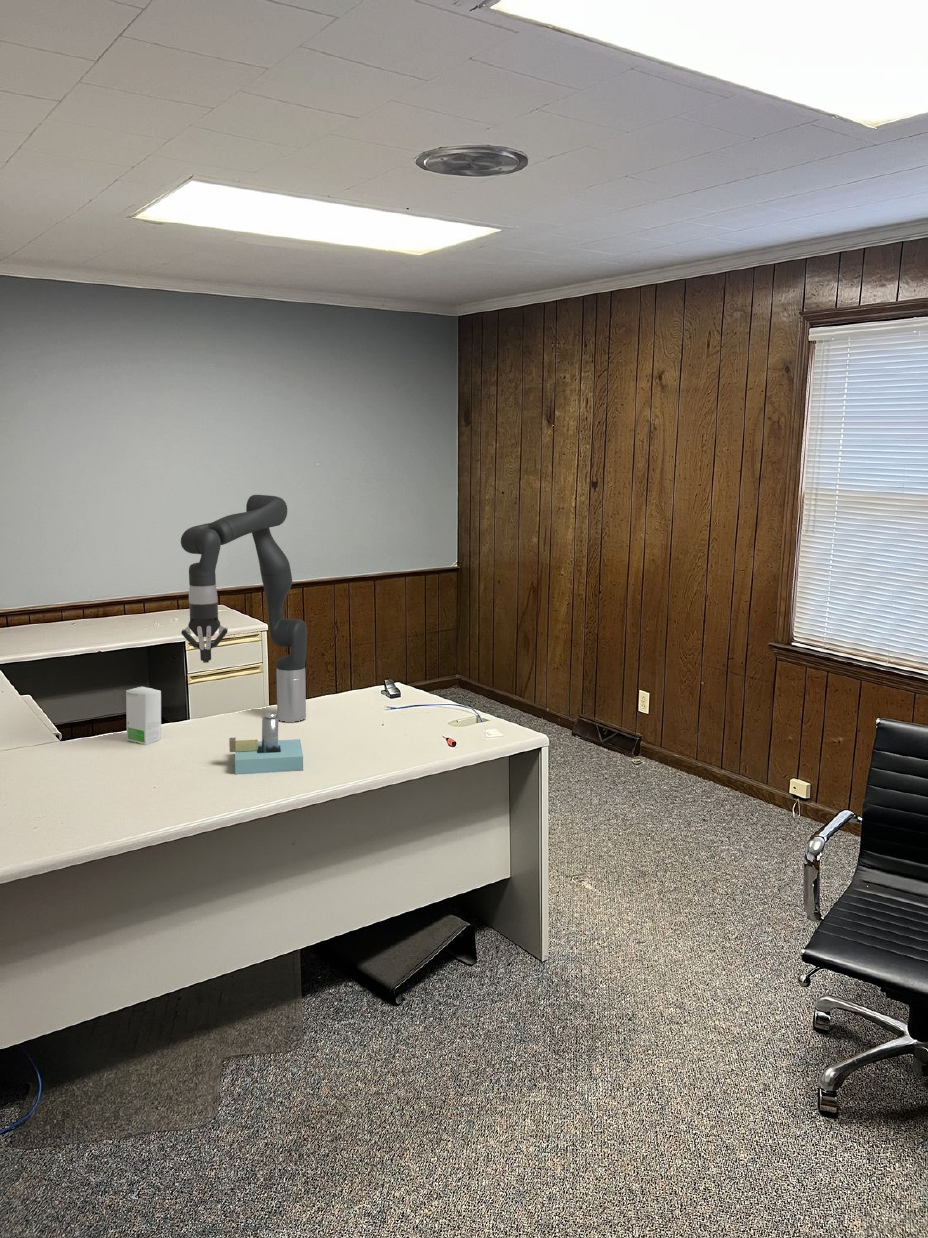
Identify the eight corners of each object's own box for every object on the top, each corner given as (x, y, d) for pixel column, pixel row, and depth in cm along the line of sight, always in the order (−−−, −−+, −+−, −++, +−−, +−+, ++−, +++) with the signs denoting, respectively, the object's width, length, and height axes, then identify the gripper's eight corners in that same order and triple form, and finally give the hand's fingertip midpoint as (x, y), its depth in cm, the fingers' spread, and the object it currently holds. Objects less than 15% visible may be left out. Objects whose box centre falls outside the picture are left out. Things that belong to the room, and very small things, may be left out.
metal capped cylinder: (262, 756, 255) (263, 711, 253) (278, 756, 255) (279, 711, 253) (260, 761, 251) (261, 715, 248) (276, 762, 251) (277, 716, 249)
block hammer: (229, 748, 252) (229, 737, 251) (257, 747, 253) (257, 736, 253) (229, 752, 249) (229, 741, 248) (257, 750, 250) (257, 739, 250)
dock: (236, 755, 259) (236, 742, 258) (300, 752, 263) (300, 739, 262) (235, 774, 243) (235, 760, 243) (303, 770, 248) (303, 756, 247)
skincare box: (126, 741, 271) (123, 690, 268) (143, 735, 277) (141, 685, 274) (146, 745, 267) (144, 694, 265) (163, 739, 273) (161, 689, 270)
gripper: (228, 598, 255) (230, 658, 258) (179, 599, 252) (182, 660, 255) (227, 602, 247) (230, 664, 251) (177, 603, 244) (180, 666, 248)
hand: (206, 662), depth 253 cm, fingers closed
